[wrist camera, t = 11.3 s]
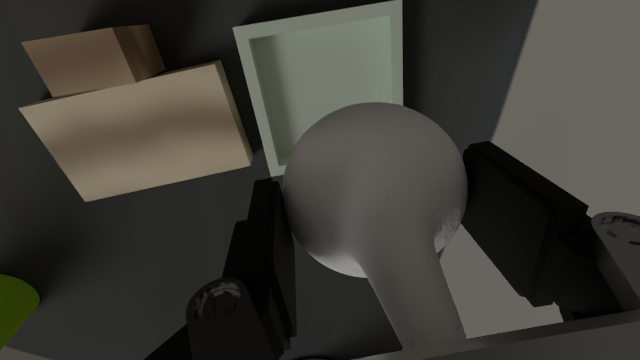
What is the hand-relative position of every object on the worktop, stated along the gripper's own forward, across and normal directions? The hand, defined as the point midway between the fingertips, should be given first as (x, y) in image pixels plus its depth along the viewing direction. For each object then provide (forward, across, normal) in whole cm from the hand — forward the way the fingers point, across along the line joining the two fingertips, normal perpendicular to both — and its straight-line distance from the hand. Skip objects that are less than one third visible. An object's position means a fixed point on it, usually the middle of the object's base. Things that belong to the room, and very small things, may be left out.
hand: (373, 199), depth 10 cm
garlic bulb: (+2, 0, 0) cm, 2 cm away
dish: (+16, 0, 0) cm, 16 cm away
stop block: (+16, +14, -5) cm, 22 cm away
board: (+16, +14, +1) cm, 22 cm away
